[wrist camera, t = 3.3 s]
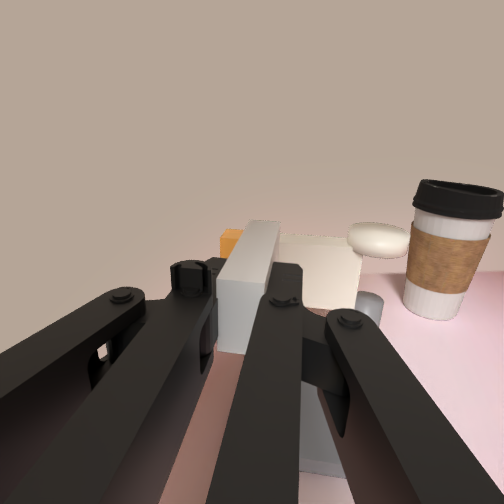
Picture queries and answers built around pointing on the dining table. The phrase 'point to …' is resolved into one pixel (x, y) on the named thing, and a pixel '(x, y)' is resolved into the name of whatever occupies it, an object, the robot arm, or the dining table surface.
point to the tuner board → (316, 437)
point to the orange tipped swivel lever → (335, 263)
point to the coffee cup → (447, 244)
